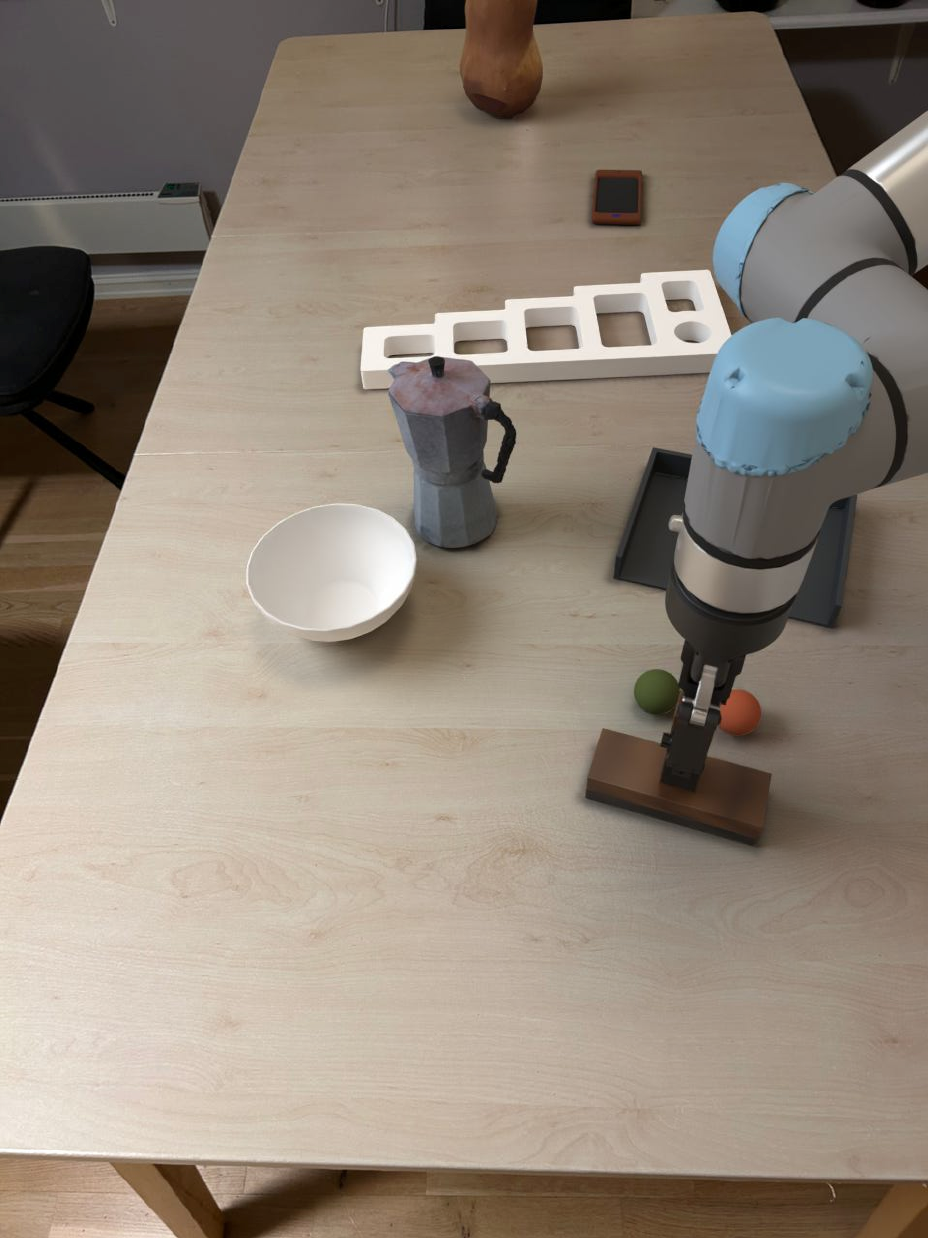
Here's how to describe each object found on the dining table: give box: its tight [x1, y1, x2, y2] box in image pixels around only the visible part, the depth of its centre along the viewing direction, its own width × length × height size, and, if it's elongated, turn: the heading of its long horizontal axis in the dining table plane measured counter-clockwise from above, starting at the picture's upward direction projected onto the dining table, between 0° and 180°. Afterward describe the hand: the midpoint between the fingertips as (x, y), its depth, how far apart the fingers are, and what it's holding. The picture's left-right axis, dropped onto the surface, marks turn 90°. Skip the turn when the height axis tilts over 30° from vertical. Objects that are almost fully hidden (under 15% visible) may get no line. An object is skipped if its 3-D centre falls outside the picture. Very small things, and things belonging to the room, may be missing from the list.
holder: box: [359, 269, 733, 390], centre depth 118 cm, size 45×18×3 cm, turn 91°
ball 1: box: [633, 668, 681, 715], centre depth 82 cm, size 4×4×4 cm
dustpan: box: [613, 446, 858, 629], centre depth 97 cm, size 27×21×3 cm
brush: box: [584, 689, 773, 847], centre depth 73 cm, size 14×5×14 cm, turn 70°
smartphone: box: [591, 169, 643, 226], centre depth 139 cm, size 7×1×15 cm
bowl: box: [245, 502, 418, 643], centre depth 90 cm, size 16×16×7 cm
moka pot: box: [387, 356, 517, 549], centre depth 91 cm, size 10×15×20 cm, turn 55°
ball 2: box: [717, 688, 762, 737], centre depth 81 cm, size 4×4×4 cm
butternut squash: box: [459, 0, 544, 120], centre depth 150 cm, size 14×13×25 cm
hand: (682, 766), depth 74 cm, fingers closed on brush, 2 cm apart
